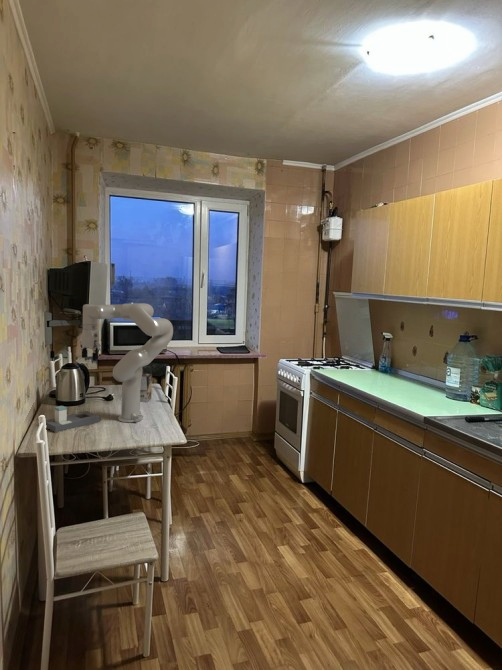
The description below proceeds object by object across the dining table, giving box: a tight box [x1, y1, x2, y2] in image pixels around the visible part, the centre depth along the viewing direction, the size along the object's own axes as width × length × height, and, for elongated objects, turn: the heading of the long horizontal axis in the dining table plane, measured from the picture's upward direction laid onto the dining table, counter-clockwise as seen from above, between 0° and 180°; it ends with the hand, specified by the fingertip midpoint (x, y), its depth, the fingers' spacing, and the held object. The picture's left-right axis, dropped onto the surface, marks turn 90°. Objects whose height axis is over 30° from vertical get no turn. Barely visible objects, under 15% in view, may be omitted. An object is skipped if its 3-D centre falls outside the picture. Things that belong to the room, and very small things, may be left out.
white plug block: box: [54, 405, 68, 424], centre depth 218 cm, size 4×4×10 cm
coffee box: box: [140, 372, 153, 403], centre depth 274 cm, size 9×6×16 cm
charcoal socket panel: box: [46, 411, 101, 433], centre depth 223 cm, size 12×24×3 cm, turn 143°
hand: (89, 358), depth 241 cm, fingers open, 9 cm apart
